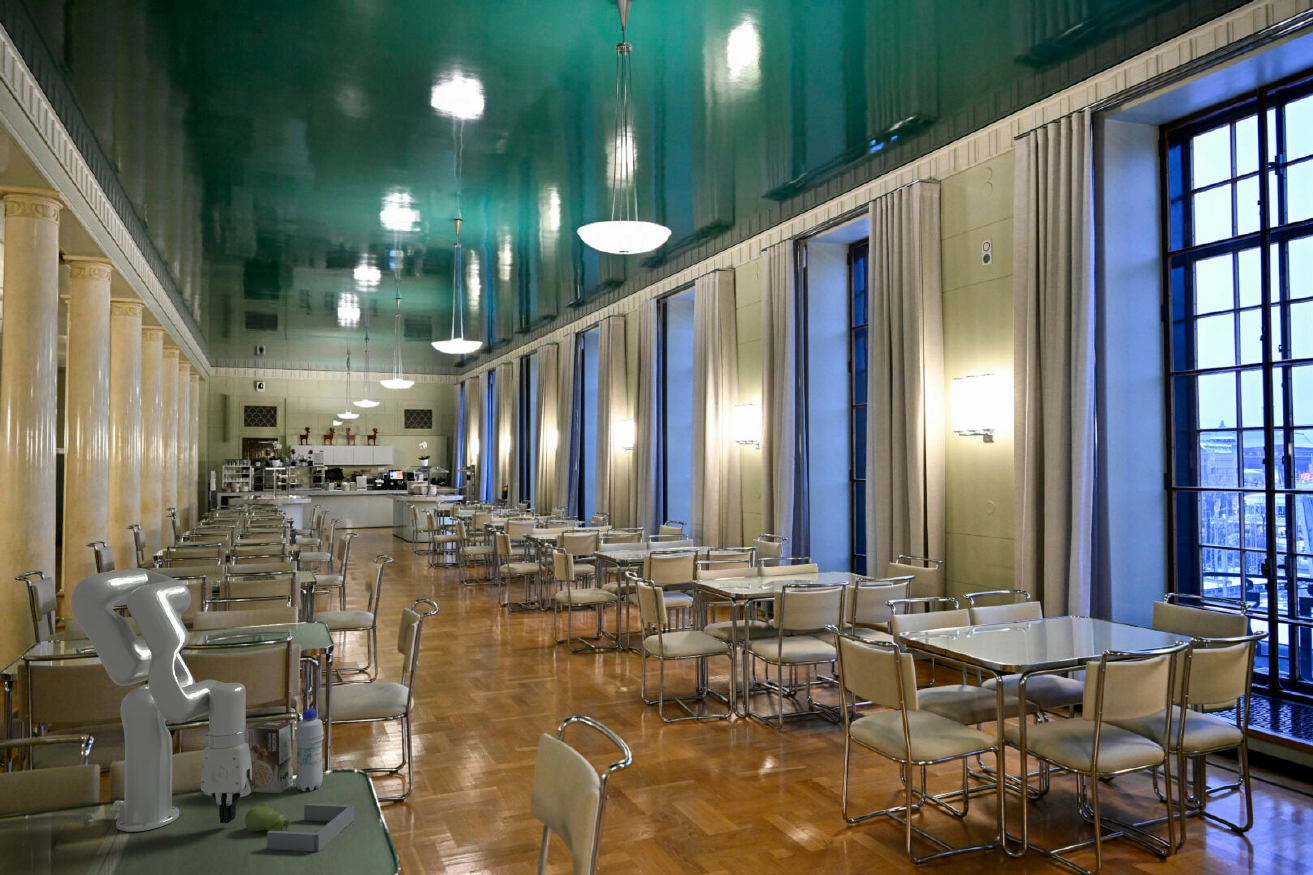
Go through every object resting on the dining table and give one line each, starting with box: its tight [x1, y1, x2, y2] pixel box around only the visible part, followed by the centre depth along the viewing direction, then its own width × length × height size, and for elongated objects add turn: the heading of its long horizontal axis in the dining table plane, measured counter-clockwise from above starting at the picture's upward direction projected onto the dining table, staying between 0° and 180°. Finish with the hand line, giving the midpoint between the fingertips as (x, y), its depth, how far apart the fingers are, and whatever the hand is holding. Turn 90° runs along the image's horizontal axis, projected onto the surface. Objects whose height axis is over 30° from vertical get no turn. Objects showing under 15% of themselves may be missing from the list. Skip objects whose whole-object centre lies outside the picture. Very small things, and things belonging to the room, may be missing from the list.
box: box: [266, 802, 355, 853], centre depth 189 cm, size 12×16×4 cm
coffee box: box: [247, 720, 294, 794], centre depth 217 cm, size 9×6×16 cm
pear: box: [244, 805, 290, 833], centre depth 191 cm, size 6×5×10 cm
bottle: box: [295, 708, 325, 792], centre depth 217 cm, size 7×7×20 cm
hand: (227, 820), depth 193 cm, fingers closed
